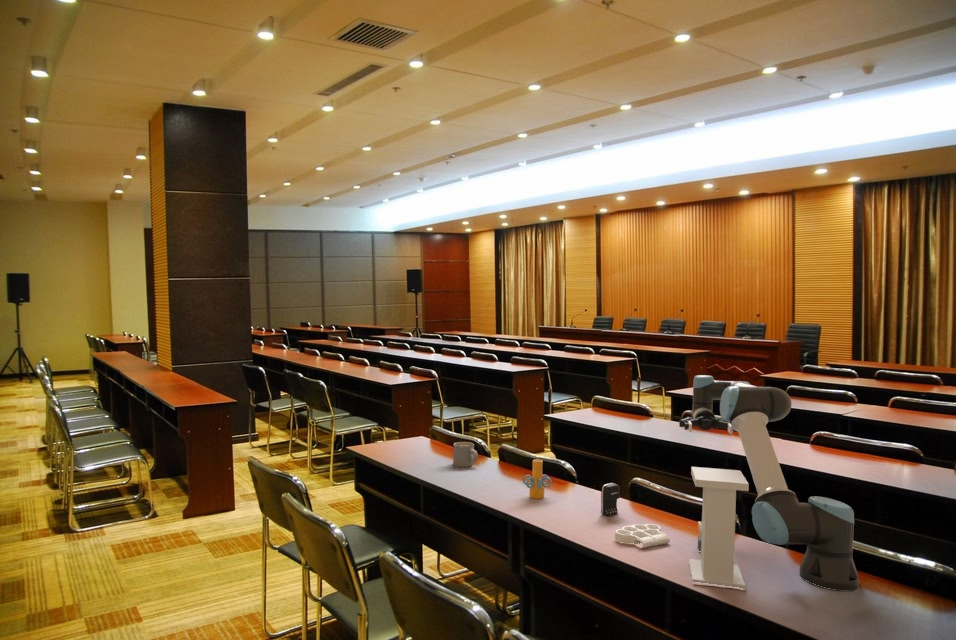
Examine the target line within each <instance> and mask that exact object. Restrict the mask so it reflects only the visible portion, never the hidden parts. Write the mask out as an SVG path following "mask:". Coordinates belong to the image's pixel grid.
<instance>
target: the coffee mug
mask: <svg viewBox="0 0 956 640" xmlns="http://www.w3.org/2000/svg"><path fill="white" fill-rule="evenodd" d="M477 451H478V450H475V444H474V443H473V442H469V441H458V442H454V443H453V453H452V455H453V456H452V458H453V459H452V463H453V466H454V465H455V466H454V467H457V466H460V468H469V467H468V466H471V467H473V466H474V464H475V463H476V462H477V461H478V455H479V454H478V452H477ZM472 465H473V466H472Z"/></svg>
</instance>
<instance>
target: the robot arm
mask: <svg viewBox="0 0 956 640" xmlns="http://www.w3.org/2000/svg"><path fill="white" fill-rule="evenodd" d="M714 400H715V401H716V400H719V413H720V417H721V419H720V418H716V415H715V414H714V412H713V404H714ZM792 405H793V404H792V400H791V397H790V395H789V394H788V393H787V392H786V391H785V390H783V389H781V388H778V387H774V386H773V387H772V386H756V385H752V384H750V382H748V381H743V380H738V381H737V380H715V379H714V376H712V375H705V374H703V375H702V374H700V375H699V374H698V375H695V376H694V378H693V384H692V409H691V416H687V417H685V418H682V419H680V420H679V423H678V424H679V425H678V426H679V428H684V430H686V431H687V430H688V431H689V433H692V432H693V431H692V430H693V428H699V429H700V430H702V431H709V430H713V429H722V430H726V431H727V432H728V433H729V435H733V432H735V431H736V432H737V433H738V436H739V438H740V441H741V444H742V448H743V452H744V455H745V457H746V460H747V464H748V466H749V469H750V473H751V476H752V480H753V483H754V485H755V489H756V493H757V497H756V498H755V499H754V504H753V506H752V507H751V515H752V518H751V520H752V524H753V525H752V526H753V528H754V529H755V531H756V534H757V535H758V537H759V538H760V539H761V540H762V541H764V542H765V543H767V544H772V545H773V544H775V545H781V546H783V545H807V546H806V551H805V553H804V555H803V558H802V561H801V563H800V564H799V576H800V577H801V578H802V579H803V580H804V579H805V580H804V581H806V580H807V581H809V582H811V583H814V584H816V585H819V586H822V587H821V588H823V587H826V588H825V589H827V588H830V589H829V590H832V589H835V590H834V591H840V590H849V591H854V590H857V589H858V588H857V587H859V584H860V577H859V573H858V572H857V567H856V565H855V562H854V559H853V553H854V552H853V551H854V550H853V549H854V546H853V545H854V530H855V529H854V526H855V512H854V509H853V508H852V507H851V506H850V505H848V504H846V503H845V502H842V501H840V500H836V499H833V498H829V497H825V496H817V495H815V496H809V497H808V500H807V502H799V499H798V497H797V495H796V492H794V491H792V490H791V489H789V488H788V484H787V482H786V479H785V477H784V474H783V472H782V468H781V465H780V462H779V460H778V457H777V454H776V452H775V448H774V446H773V443H772V440H771V437H770V434H769V432H768V429H767V424H768V423H769V422H770V423H771V422H776V421H780V420H782V419H784V418H785V417H786V416H788V414H789V413H790V411H791V409H792ZM807 581H806V582H807ZM809 582H808V583H809ZM811 583H810V584H811ZM814 584H813V585H814ZM816 585H815V586H816ZM819 586H818V587H819ZM853 589H854V590H853Z"/></svg>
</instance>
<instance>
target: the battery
mask: <svg viewBox="0 0 956 640" xmlns="http://www.w3.org/2000/svg"><path fill="white" fill-rule="evenodd" d="M620 488H621V487H620V486H619V485H618V484H616V483H613V482H610V483H606V484H603V485H602V486H601V491H600V492H601V495H600V503H601V506H600V514H601V515H603V516H606V517H610V516H614V515H618V513H619V512H618V503H617V502H618V499H621V489H620Z"/></svg>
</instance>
